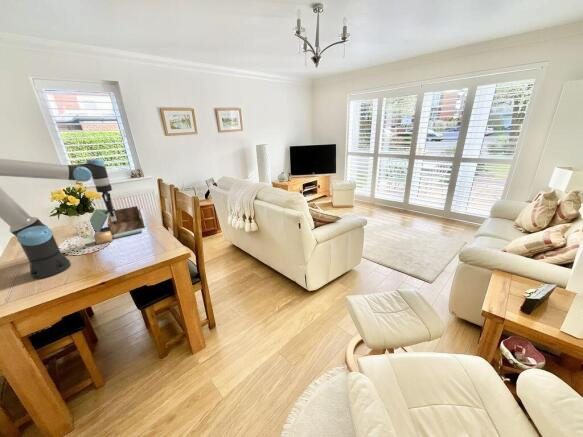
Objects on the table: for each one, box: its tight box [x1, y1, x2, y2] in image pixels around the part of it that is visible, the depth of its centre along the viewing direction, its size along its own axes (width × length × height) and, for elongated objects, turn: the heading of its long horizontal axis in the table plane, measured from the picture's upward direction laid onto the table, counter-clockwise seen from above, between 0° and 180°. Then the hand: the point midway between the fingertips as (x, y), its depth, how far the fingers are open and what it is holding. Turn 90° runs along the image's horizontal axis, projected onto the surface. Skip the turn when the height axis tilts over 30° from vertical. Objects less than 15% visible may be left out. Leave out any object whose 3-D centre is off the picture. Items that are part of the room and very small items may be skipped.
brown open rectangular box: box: [107, 205, 146, 236], centre depth 172 cm, size 20×22×12 cm
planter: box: [89, 208, 109, 233], centre depth 171 cm, size 16×8×20 cm
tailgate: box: [113, 228, 143, 239], centre depth 162 cm, size 16×1×8 cm
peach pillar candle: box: [93, 230, 114, 245], centre depth 152 cm, size 8×7×7 cm
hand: (114, 220), depth 152 cm, fingers closed
